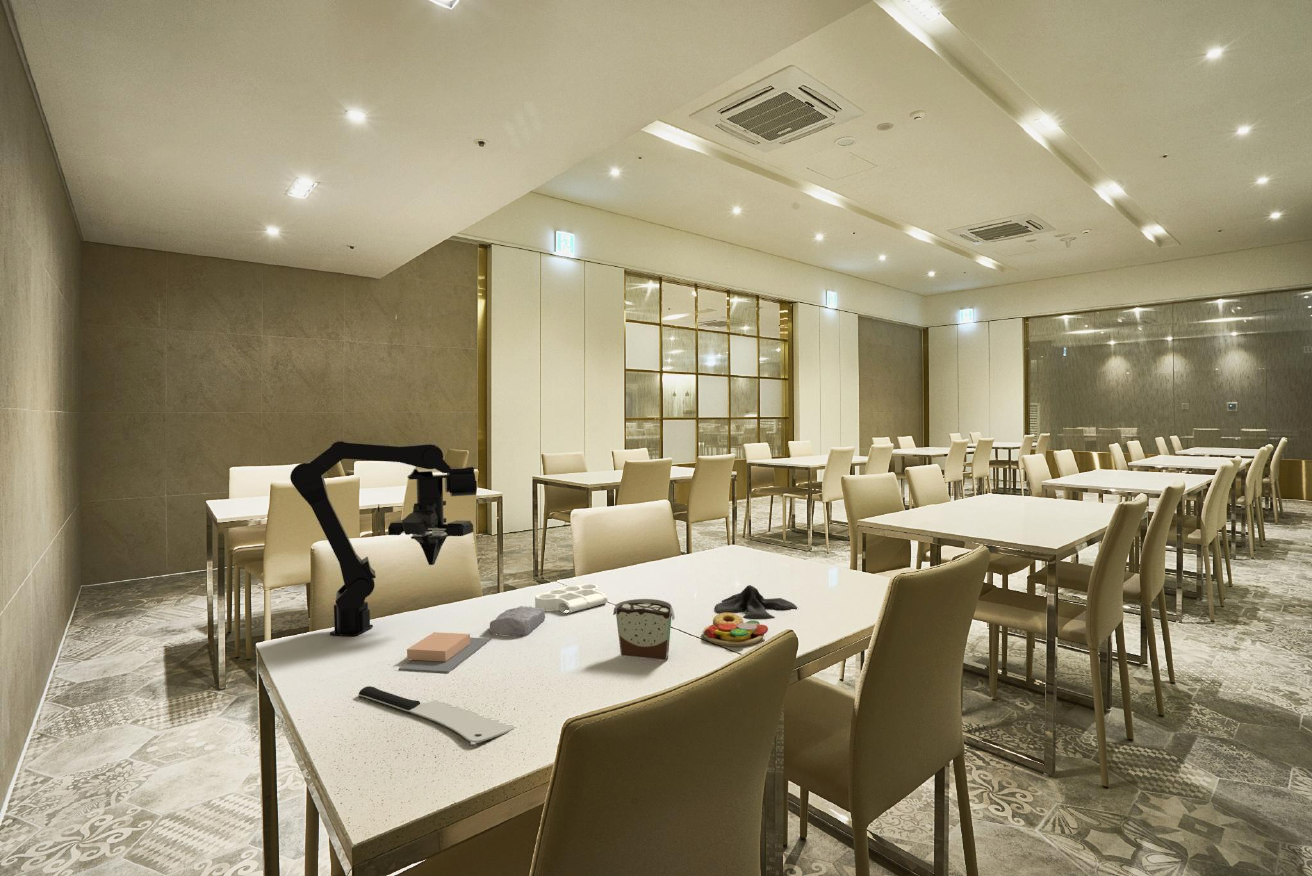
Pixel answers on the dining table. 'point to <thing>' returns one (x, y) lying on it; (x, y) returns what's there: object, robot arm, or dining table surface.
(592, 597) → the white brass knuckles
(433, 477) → the robot arm
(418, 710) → the kitchen cleaver
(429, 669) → the mat
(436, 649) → the tan flat block
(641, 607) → the food container
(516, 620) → the stone block
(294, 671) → the dining table surface
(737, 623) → the toy food set
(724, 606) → the cloth
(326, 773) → the dining table surface
